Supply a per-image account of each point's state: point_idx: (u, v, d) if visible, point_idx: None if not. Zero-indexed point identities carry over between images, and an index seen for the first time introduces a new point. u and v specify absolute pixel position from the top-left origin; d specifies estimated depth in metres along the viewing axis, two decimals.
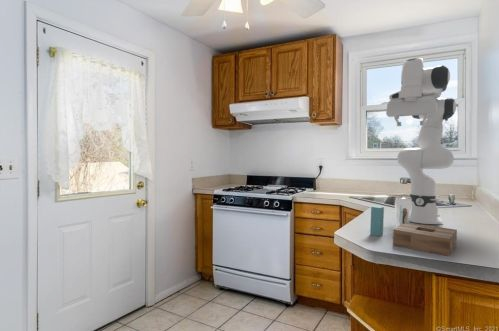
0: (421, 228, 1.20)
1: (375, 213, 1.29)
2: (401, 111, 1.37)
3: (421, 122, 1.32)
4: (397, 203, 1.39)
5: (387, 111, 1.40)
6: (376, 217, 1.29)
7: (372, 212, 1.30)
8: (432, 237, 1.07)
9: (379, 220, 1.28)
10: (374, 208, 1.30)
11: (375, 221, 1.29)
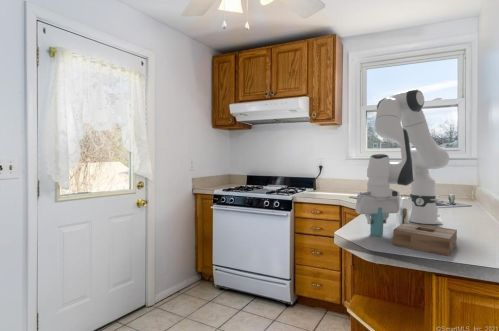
0: (421, 228, 1.20)
1: None
2: None
3: None
4: None
5: None
6: (376, 217, 1.29)
7: None
8: (432, 237, 1.07)
9: (379, 220, 1.28)
10: None
11: (375, 221, 1.29)
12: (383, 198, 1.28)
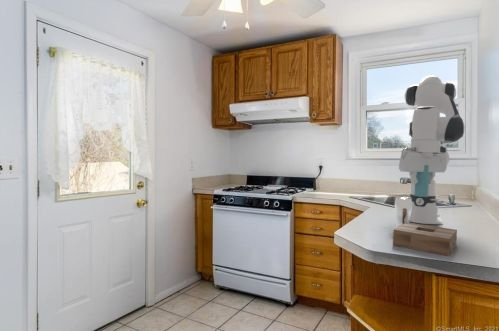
0: (421, 228, 1.20)
1: None
2: None
3: None
4: (397, 203, 1.39)
5: None
6: (422, 176, 1.15)
7: None
8: (432, 237, 1.07)
9: (426, 179, 1.14)
10: None
11: (421, 180, 1.15)
12: (431, 154, 1.14)
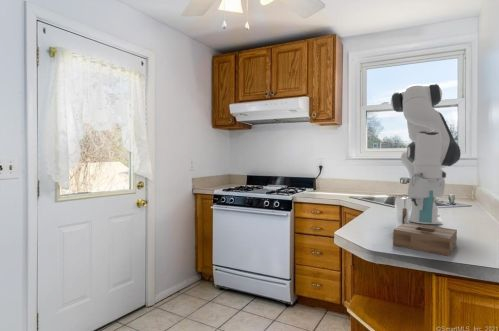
0: (421, 228, 1.20)
1: None
2: None
3: None
4: (397, 203, 1.39)
5: None
6: (427, 201, 1.14)
7: None
8: (432, 237, 1.07)
9: (431, 205, 1.13)
10: None
11: (426, 206, 1.14)
12: (435, 180, 1.13)
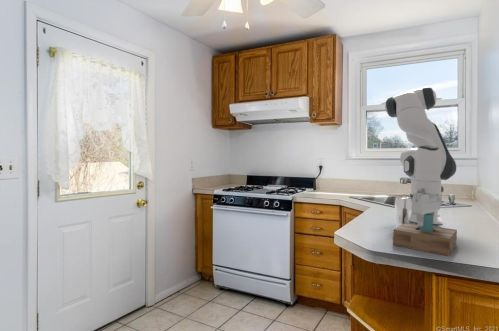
0: None
1: (426, 221, 1.14)
2: None
3: None
4: (397, 203, 1.39)
5: None
6: (428, 226, 1.14)
7: None
8: (432, 237, 1.07)
9: (431, 229, 1.14)
10: (425, 216, 1.14)
11: (426, 230, 1.14)
12: (436, 195, 1.14)
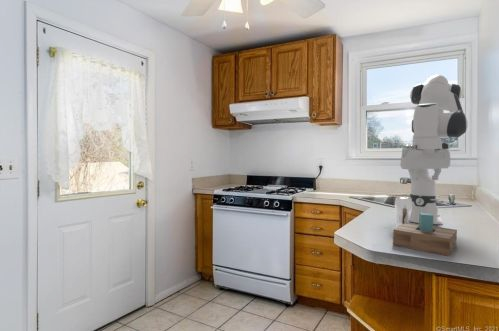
0: None
1: (426, 221, 1.14)
2: None
3: None
4: (397, 203, 1.39)
5: None
6: (428, 226, 1.14)
7: (423, 220, 1.15)
8: (432, 237, 1.07)
9: (431, 229, 1.14)
10: (425, 216, 1.14)
11: (426, 230, 1.14)
12: (432, 151, 1.15)
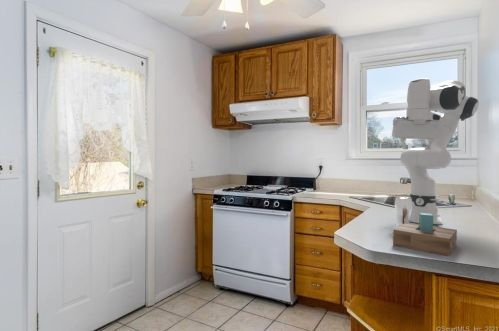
0: None
1: (426, 221, 1.14)
2: None
3: None
4: (397, 203, 1.39)
5: None
6: (428, 226, 1.14)
7: (423, 220, 1.15)
8: (432, 237, 1.07)
9: (431, 229, 1.14)
10: (425, 216, 1.14)
11: (426, 230, 1.14)
12: (422, 121, 1.26)
